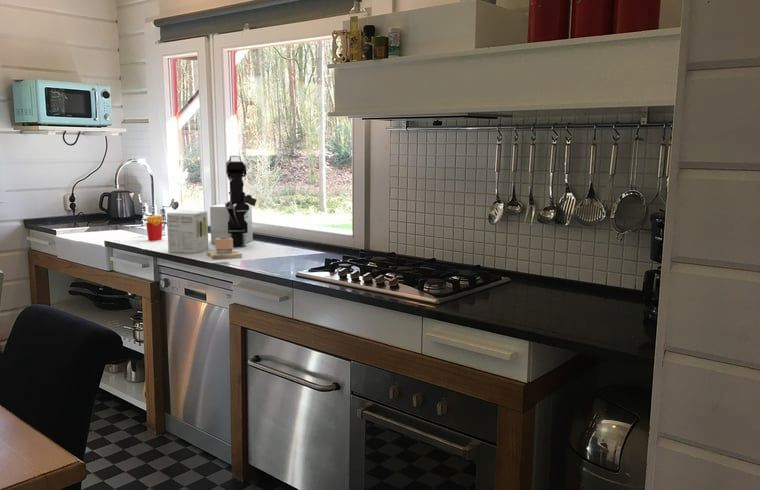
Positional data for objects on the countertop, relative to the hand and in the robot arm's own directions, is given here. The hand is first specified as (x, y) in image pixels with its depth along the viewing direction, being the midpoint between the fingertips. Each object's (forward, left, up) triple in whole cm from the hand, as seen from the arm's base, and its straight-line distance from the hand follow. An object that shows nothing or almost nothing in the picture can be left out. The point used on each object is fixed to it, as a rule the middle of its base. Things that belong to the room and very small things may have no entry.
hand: (237, 225), depth 282 cm
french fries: (-53, -28, -12) cm, 61 cm away
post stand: (+8, -8, -12) cm, 16 cm away
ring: (+8, -8, -8) cm, 14 cm away
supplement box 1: (-13, -19, -12) cm, 26 cm away
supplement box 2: (-31, +5, -12) cm, 34 cm away
